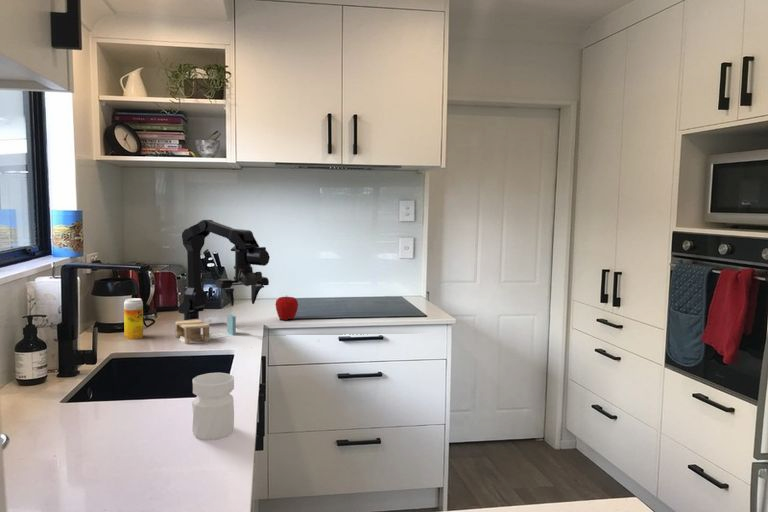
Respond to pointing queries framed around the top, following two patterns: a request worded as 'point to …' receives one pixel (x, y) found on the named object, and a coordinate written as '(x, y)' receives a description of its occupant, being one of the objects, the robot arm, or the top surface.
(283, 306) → the apple
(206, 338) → the tunnel
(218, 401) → the pill bottle
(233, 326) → the sled
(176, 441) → the top surface
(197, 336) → the block
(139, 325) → the beer can
